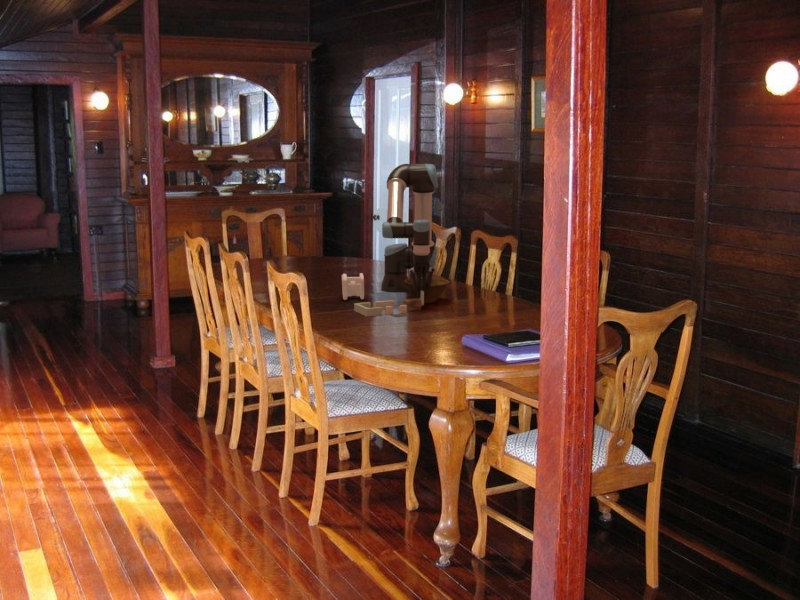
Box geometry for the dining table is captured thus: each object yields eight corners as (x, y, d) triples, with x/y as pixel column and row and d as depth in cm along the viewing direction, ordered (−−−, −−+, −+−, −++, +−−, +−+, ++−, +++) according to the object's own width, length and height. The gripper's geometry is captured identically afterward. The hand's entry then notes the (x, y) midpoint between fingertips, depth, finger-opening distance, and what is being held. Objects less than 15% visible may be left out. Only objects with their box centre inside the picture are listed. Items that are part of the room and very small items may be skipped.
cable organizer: (364, 301, 442) (364, 277, 440) (342, 301, 441) (342, 277, 439) (363, 295, 457) (363, 272, 455) (341, 295, 456) (341, 272, 454)
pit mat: (404, 314, 414) (404, 313, 414) (409, 316, 409) (409, 315, 409) (390, 316, 411) (390, 314, 411) (395, 318, 406) (395, 317, 406)
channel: (393, 307, 427) (393, 300, 427) (406, 312, 415) (406, 305, 414) (373, 309, 423) (373, 301, 422) (386, 314, 411) (386, 307, 410)
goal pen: (369, 309, 422) (369, 302, 421) (382, 315, 410) (382, 307, 409) (354, 311, 419) (354, 303, 418) (366, 316, 407) (366, 309, 406)
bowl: (456, 299, 447) (457, 279, 446) (438, 307, 427) (438, 286, 425) (415, 295, 457) (415, 275, 455) (395, 303, 436) (396, 282, 434)
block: (416, 307, 428) (416, 298, 427) (421, 310, 422) (421, 300, 421) (402, 308, 425) (402, 299, 424) (406, 311, 420) (406, 301, 419)
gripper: (430, 252, 427) (429, 302, 431) (404, 253, 421) (404, 304, 426) (437, 254, 420) (437, 304, 425) (412, 255, 415) (412, 307, 419)
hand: (421, 304), depth 425 cm, fingers closed
